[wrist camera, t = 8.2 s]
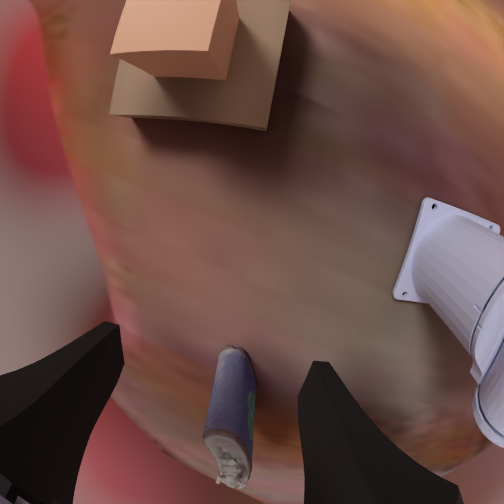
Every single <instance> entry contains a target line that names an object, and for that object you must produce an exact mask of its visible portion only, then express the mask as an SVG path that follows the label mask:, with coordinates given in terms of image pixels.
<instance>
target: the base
mask: <svg viewBox="0 0 504 504" xmlns="http://www.w3.org/2000/svg"><path fill="white" fill-rule="evenodd" d="M236 3H237V8H238V12H239V17H240V19H239V23H238V27H237V31H236V36H235V40H234V45H233V49H232V54H231V59H230V64H229V68H228V73H227V78H226V80H216V79H203V78H186V77H154V76H152V75H150V74H148V73H146V72H145V71H143V70H141V69H139V68H137V67H135V66H133V65H131V64H129V63H127V62H125V61H123V60H122V59H120V62H119V66H118V70H117V75H116V80H115V85H114V90H113V95H112V101H111V107H110V113H109V115H115V116H123V117H130V118H154V119H171V120H184V121H195V122H205V123H214V124H222V125H229V126H237V127H243V128H250V129H256V130H262V131H267V125H268V120H269V114H270V109H271V103H272V98H273V93H274V87H275V82H276V76H277V71H278V66H279V60H280V55H281V50H282V45H283V39H284V34H285V29H286V24H287V18H288V13H289V8H290V3H291V0H236Z"/></svg>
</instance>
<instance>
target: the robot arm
mask: <svg viewBox="0 0 504 504" xmlns="http://www.w3.org/2000/svg"><path fill="white" fill-rule="evenodd" d="M433 204H435V207H434V209H432V205H433ZM489 227H490V229H489ZM499 233H500V226H499V225H497V224H495V223H492V222H490V221H488V220H485V219H483V218H481V217H478V216H476V215H473V214H471V213H469V212H466V211H464V210H461V209H458V208H456V207H453V206H451V205H448V204H445V203H442V202H440V201H437V200H434V199H431V198H425V199H424V200H423V201H422V204H421V208H420V212H419V215H418V219H417V222H416V226H415V229H414V232H413V235H412V239H411V242H410V245H409V248H408V251H407V254H406V257H405V260H404V262H403V265H402V268H401V271H400V273H399V276H398V279H397V281H396V284H395V287H394V289H393V292H392V295H393V297H394V298H395V299H398V300H405V301H413V302H420V303H428V304H429V305H430V306H431V307H432V308H433V310H434V311H435V312H436V313H437V314H438V316H439V317H440V318H441V319H442V320H443V322H444V323H445V324H446V325H447V327H448V328H449V329H450V330H451V331H452V333H453V334H454V335H455V337H456V338H457V339H458V340H459V342H460V343H461V344H462V346H463V347H464V348H465V349H466V351H467V352H468V353H469V355H470V356H471V357H472V359H473V364H472V367H471V370H470V373H471V375H472V376H473V378H474V379H475V381H476V382H477V386H476V388H475V390H474V393H473V397H472V410H473V415H474V418H475V421H476V423H477V425H478V427H479V428H480V430H481V431H482V433H483V434H484V435H485V436H486V437H487V438H488V439H489V440H490V441H491V442H493V443H494V444H496V445H498V446H500V447H503V448H504V237H503V236H501V235H499ZM404 292H405V294H404V295H402V294H403V293H404ZM123 366H124V357H123V350H122V343H121V335H120V327H119V325H117V324H114V323H111V322H107V321H105V322H103V323H101V324H100V325H98V326H96V327H95V328H93V329H92V330H90V331H88V332H87V333H85V334H84V335H82V336H81V337H79V338H77V339H76V340H74V341H72V342H71V343H69V344H68V345H66V346H64V347H63V348H61V349H59V350H57V351H56V352H54V353H52V354H50V355H48V356H46V357H45V358H43V359H41V360H39V361H37V362H35V363H33V364H30V365H28V366H26V367H23V368H21V369H18V370H16V371H13V372H10V373H7V374H3V375H0V504H73V496H74V491H75V485H76V481H77V476H78V472H79V468H80V465H81V461H82V458H83V455H84V451H85V449H86V446H87V442H88V440H89V437H90V434H91V432H92V430H93V428H94V425H95V424H96V422H97V420H98V418H99V416H100V414H101V412H102V411H103V408H104V407H105V405H106V403H107V401H108V399H109V398H110V396H111V394H112V392H113V390H114V388H115V386H116V384H117V382H118V379H119V377H120V374H121V372H122V369H123ZM298 423H299V431H300V439H301V447H302V454H303V462H304V474H305V491H304V504H464V502H463V499H462V496H461V493H460V490H459V488H458V485H456V484H454V483H452V482H450V481H447V480H445V479H443V478H442V477H440V476H438V475H436V474H434V473H432V472H431V471H429V470H428V469H426V468H424V467H423V466H421V465H420V464H419V463H417V462H416V461H414V460H413V459H412V458H410V457H409V456H408V455H407V454H405V453H404V452H403V451H402V450H400V449H399V448H398V447H397V446H396V445H395V444H394V443H393V442H392V441H391V440H390V439H389V438H387V437H386V436H385V435H384V434H383V433H382V432H381V430H380V429H379V428H378V427H377V426H376V425H375V424H374V423H373V422H372V420H371V419H370V418H369V417H368V416H367V414H366V413H365V412H364V411H363V410H362V408H361V407H360V406H359V404H358V403H357V402H356V400H355V399H354V398H353V396H352V395H351V393H350V392H349V391H348V389H347V388H346V386H345V385H344V383H343V382H342V380H341V379H340V378H339V376H338V375H337V373H336V372H335V370H334V369H333V367H332V366H331V364H330V363H329V362H322V361H313V363H312V365H311V368H310V370H309V372H308V375H307V377H306V379H305V382H304V384H303V386H302V388H301V391H300V393H299V395H298Z"/></svg>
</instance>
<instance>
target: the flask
mask: <svg viewBox="0 0 504 504" xmlns="http://www.w3.org/2000/svg"><path fill="white" fill-rule="evenodd" d="M233 347H235V348H237V349H235V348H233ZM233 347H231V346H227V347H226V346H224V347H223V349H222V350H221V351H220V353H219V357H218V364H217V369H216V375H215V381H214V386H213V391H212V396H211V401H210V405H209V409H208V414H207V420H206V423H205V428H204V432H203V443H204V444H205V446H206V447H207V448H208V450H209V451H210V452H211V453H212V455H213V457H214V459H215V460H216V462H217V464H218V467H219V476H218V478H217V481H216V483H218V484H220V481H221V482H223V483H225V484H226V485H227V486H229V487H231V488H234V487H235V486H236V485H240V486H239V487H237V488H239V489H242V488H244V487H245V486H246V484H247V483H246V482H247V481H248V480H249V477H250V473H251V470H252V449H253V433H254V418H255V404H256V397H257V383H256V381H255V376H254V372H253V369H252V364H251V362H250V358H249V357H248V355H247V353H246V352H245V350H243V348H242V347H239V346H235V345H233Z"/></svg>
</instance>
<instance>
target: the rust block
mask: <svg viewBox="0 0 504 504" xmlns="http://www.w3.org/2000/svg"><path fill="white" fill-rule="evenodd" d="M239 19H240V17H239V12H238V8H237V3H236V0H127V1H126V3H125V6H124V9H123V12H122V15H121V18H120V21H119V24H118V28H117V31H116V34H115V38H114V42H113V45H112V49H111V53H110V54H111V55H113V56H115V57H117V58H120V59H122V60H123V61H125V62H127V63H129V64H131V65H133V66H135V67H137V68H139V69H141V70H143V71H145V72H146V73H148V74H150V75H152V76H154V77H186V78H203V79H216V80H226V78H227V73H228V68H229V64H230V59H231V54H232V49H233V45H234V40H235V36H236V31H237V27H238V23H239Z"/></svg>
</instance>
